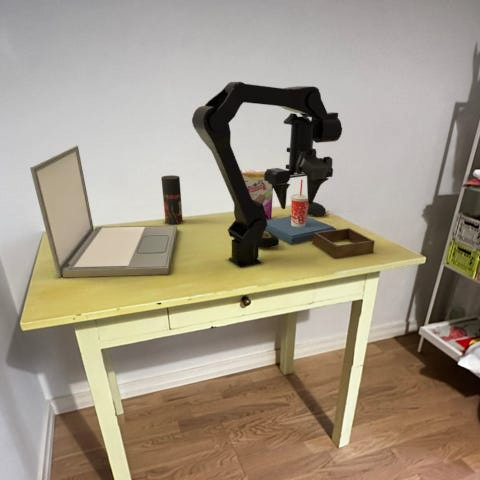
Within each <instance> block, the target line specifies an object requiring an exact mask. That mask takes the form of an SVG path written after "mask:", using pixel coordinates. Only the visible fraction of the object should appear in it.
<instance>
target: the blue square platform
mask: <svg viewBox="0 0 480 480" xmlns="http://www.w3.org/2000/svg"><path fill="white" fill-rule="evenodd" d="M330 230H337V228H335V226H333V225H331V224H328V223H325V222H323V221H320V220H318V219H315V218H312V217H309V216H307V219H306V225H305V226H304V227H294V226H292V225H291V215H289V216H283V217H282V216H281V217H278V218H271V220H267V227H266V229H265V231H264V232H268V231H269V232H271V233H272V234H273V235H275V236H276V237H277V238H278V239H279V240H280V241H282V242H285V243H287V244H289V245H295V244H300V243H305V242H309V241H313V233H314V232H322V231H330Z"/></svg>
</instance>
